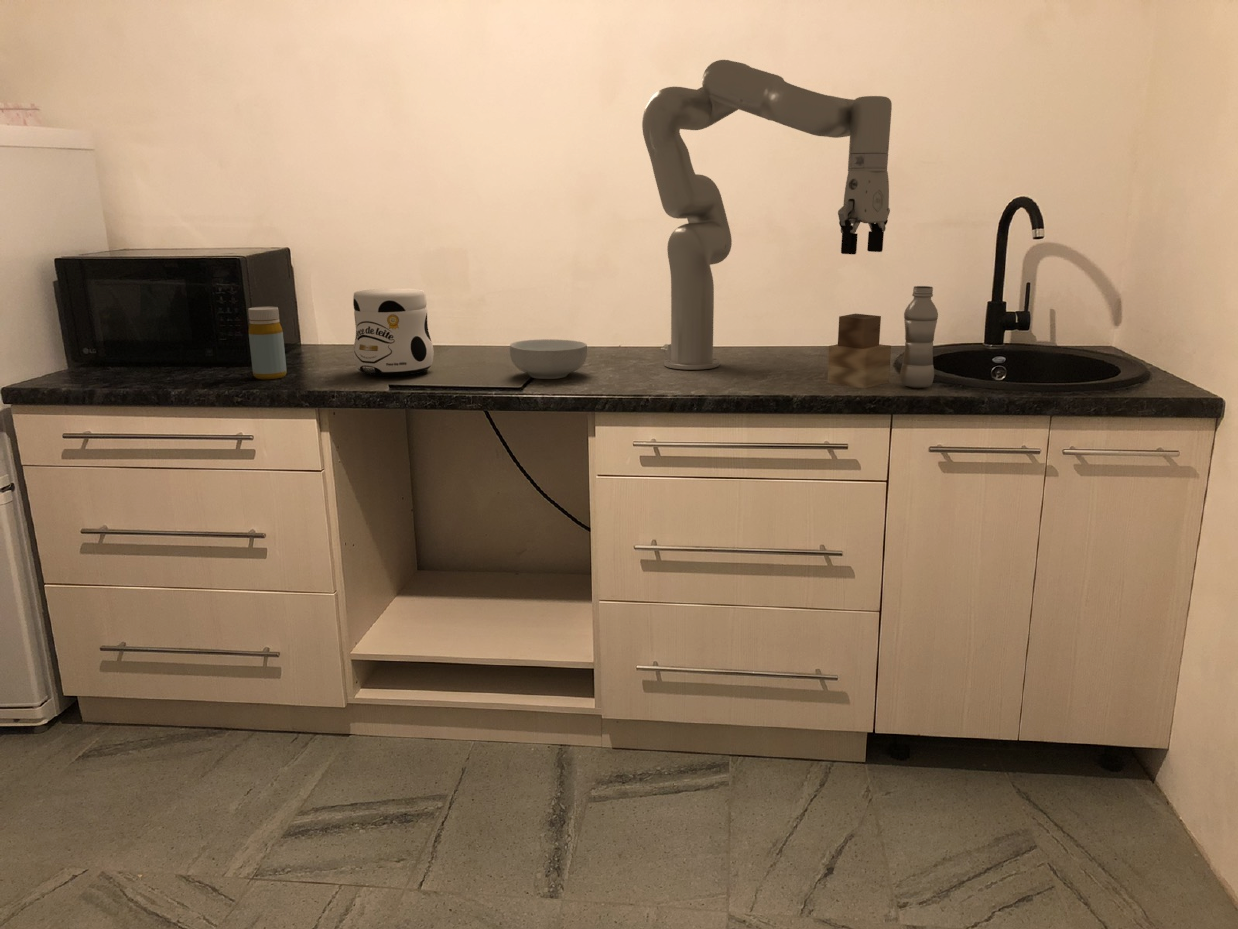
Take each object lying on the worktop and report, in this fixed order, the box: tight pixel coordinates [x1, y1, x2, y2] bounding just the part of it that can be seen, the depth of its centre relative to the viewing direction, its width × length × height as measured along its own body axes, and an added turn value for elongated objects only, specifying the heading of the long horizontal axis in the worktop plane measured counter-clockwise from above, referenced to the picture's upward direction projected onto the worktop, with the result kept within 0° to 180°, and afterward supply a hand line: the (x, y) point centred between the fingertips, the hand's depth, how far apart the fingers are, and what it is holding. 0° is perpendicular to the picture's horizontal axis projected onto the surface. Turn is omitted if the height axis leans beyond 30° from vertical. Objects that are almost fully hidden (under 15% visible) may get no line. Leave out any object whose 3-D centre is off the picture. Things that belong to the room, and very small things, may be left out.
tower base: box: [827, 364, 891, 389], centre depth 204 cm, size 9×9×4 cm
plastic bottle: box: [899, 285, 939, 389], centre depth 196 cm, size 6×7×20 cm
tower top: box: [827, 343, 892, 371], centre depth 203 cm, size 9×9×4 cm
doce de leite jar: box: [352, 287, 435, 377], centre depth 218 cm, size 17×17×18 cm
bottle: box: [247, 306, 287, 380], centre depth 215 cm, size 7×7×15 cm
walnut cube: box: [837, 313, 882, 349], centre depth 202 cm, size 6×6×6 cm
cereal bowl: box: [509, 338, 588, 380], centre depth 214 cm, size 17×17×7 cm
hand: (861, 252), depth 198 cm, fingers open, 9 cm apart
